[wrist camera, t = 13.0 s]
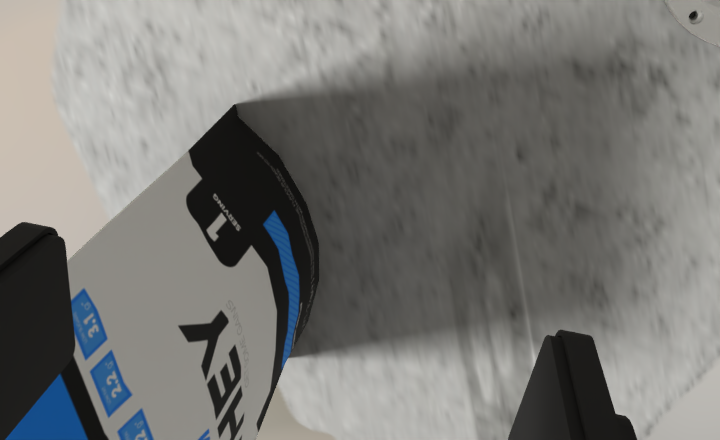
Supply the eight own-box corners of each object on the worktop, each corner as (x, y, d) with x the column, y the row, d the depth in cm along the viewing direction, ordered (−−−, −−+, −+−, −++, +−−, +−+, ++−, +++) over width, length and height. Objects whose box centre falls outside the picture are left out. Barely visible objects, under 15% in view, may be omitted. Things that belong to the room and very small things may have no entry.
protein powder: (238, 357, 58) (57, 736, 32) (176, 108, 48) (-175, 374, 21) (336, 358, 57) (230, 758, 31) (296, 100, 46) (75, 378, 20)
